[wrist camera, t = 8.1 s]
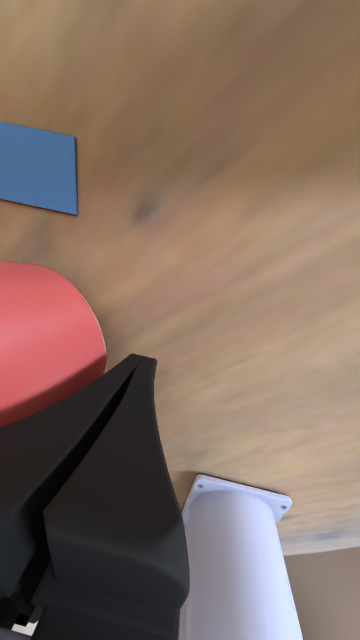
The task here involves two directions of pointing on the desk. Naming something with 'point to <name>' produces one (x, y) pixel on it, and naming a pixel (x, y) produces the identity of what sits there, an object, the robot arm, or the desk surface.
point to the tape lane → (38, 168)
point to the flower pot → (44, 340)
